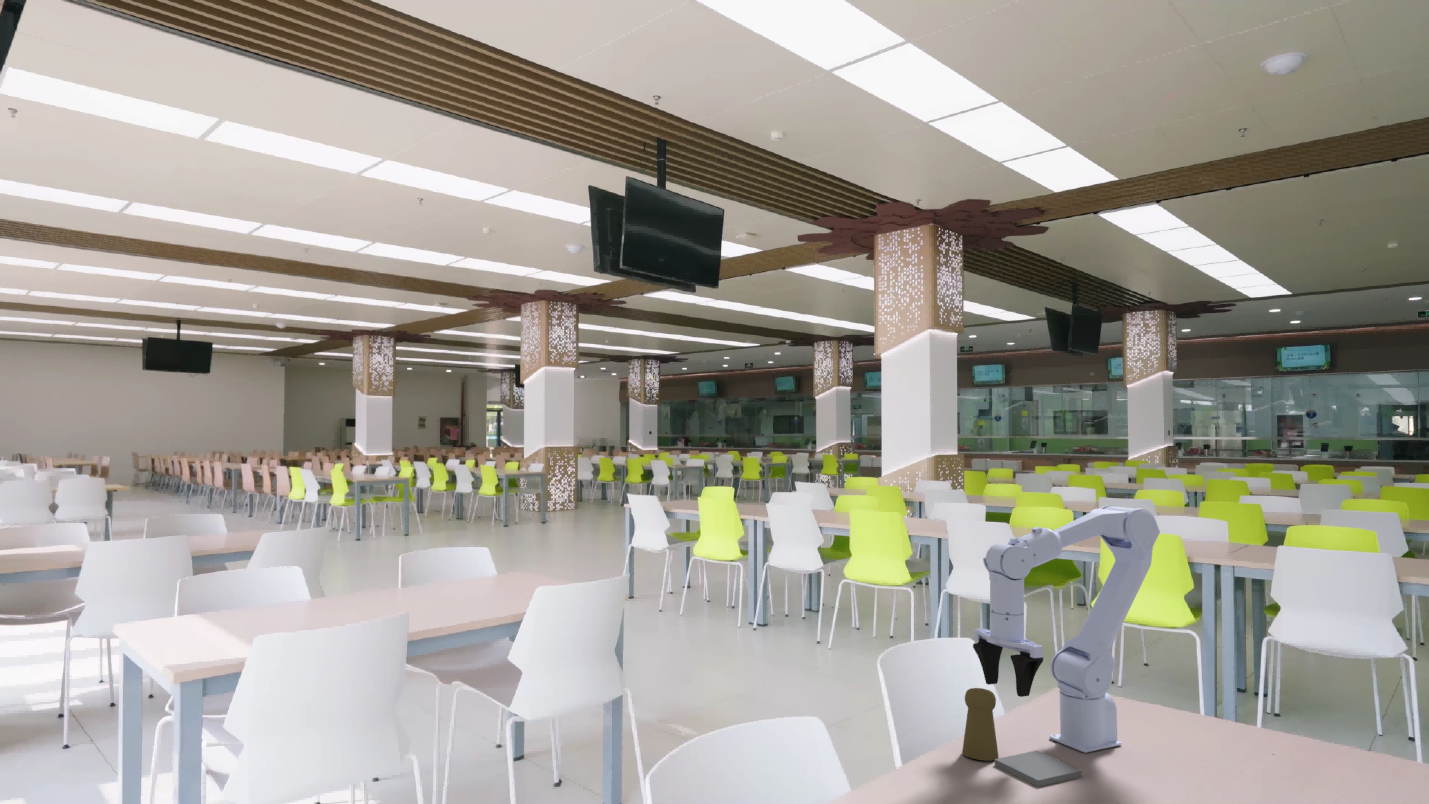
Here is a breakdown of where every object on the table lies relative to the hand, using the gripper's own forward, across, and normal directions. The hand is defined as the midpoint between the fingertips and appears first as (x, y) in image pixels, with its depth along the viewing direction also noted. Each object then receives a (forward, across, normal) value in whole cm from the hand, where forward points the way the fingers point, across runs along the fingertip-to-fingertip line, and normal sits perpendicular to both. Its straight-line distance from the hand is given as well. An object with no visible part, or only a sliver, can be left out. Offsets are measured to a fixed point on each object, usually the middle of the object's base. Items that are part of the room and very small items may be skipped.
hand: (1007, 689), depth 144 cm
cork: (+11, 0, -6) cm, 12 cm away
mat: (+10, +9, -2) cm, 14 cm away
